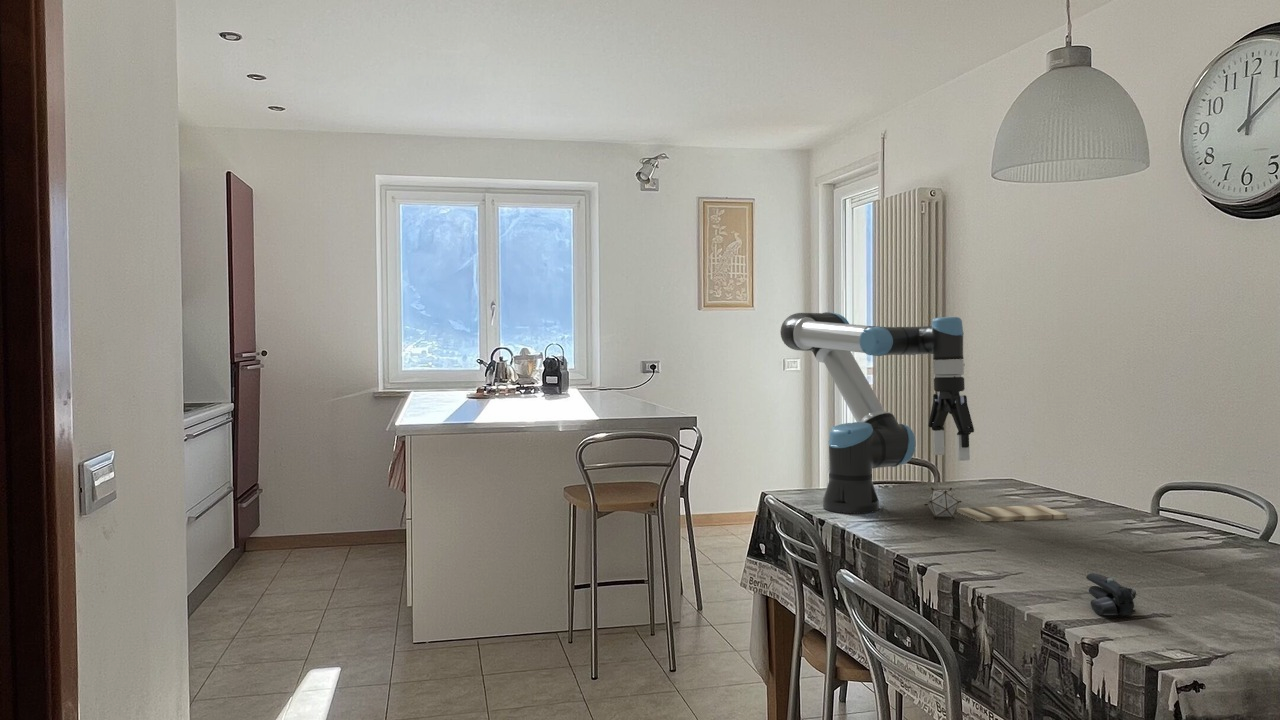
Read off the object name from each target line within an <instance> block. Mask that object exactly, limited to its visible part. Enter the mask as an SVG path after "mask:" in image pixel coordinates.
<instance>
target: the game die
mask: <svg viewBox="0 0 1280 720" xmlns="http://www.w3.org/2000/svg"><path fill="white" fill-rule="evenodd" d="M952 488H953V487H949V489H934V487H933V486H932V487H930V489H931V490H932V491H931V493H930V496H929V497H928V498H929V499H928V501H927V503H924V504H923V505H924V506H928V508H929V510H930V511H931V512H932V514H933V520H935V519H937V518H952V520H954V519H955V516H954V514H955V512H956V511H957V508H958V505H959V504H960V503H963V501H962V500H958V499H957V497H956V496H955V495H954V493H953V492H952ZM955 520H956V519H955Z"/></svg>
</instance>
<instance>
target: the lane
mask: <svg viewBox="0 0 1280 720" xmlns="http://www.w3.org/2000/svg"><path fill="white" fill-rule="evenodd" d="M957 512H958V513H957ZM956 513H957V514H959V513H961V514H960V515H962V514H963V515H962V516H964V515H966V516H968V517H967V518H969V517H970V518H969V519H971V518H973V519H975V520H974V521H976V520H977V522H978V521H998V522H1015V521H1014V520H1024V521H1039V520H1038V519H1051V520H1068V513H1064V512H1061V511H1059V510H1056V509H1053V508H1050V507H1047V506H1044V505H1040V504H1035V505H1012V506H1011V505H1010V506H1009V505H1008V506H984V507H983V506H982V507H981V506H980V507H979V506H978V507H957V508H956ZM966 516H965V517H966ZM973 519H972V520H973Z"/></svg>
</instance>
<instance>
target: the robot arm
mask: <svg viewBox="0 0 1280 720" xmlns="http://www.w3.org/2000/svg"><path fill="white" fill-rule="evenodd" d="M964 333H965V332H964V328H963V320H962V319H961V317H957V316H946V317H941V316H940V317H934V318H932V321H931V325H929V326H928V325H927V326H923V325H922V326H879V325H878V326H877V325H865V324H864V325H863V324H851V323H850V322H849V321H848V319H847V318H846V317H844V316H843V315H842V314H839V313H837V312H836V313H835V312H834V313H833V312H831V311H829V312H827V311H826V312H796V313H793V314H790V315H789V316H787V317H786V318H785V320H783V322H782V324H781V327H780V338H781V340H782V342H783V344H784V345H785V346H786V347H788V348H789V349H791V350H794V351H802V352H803V351H806V352H807V351H808V352H809V351H811V352H812V353H813V356H814V358H815V359H816V361H818V362H819V363H823V364H824V365H825V368H826V370H828V373H829V374H830V376H831V378H832V380H833V382H834V383H835V385H836V387H837V389H838V391H839V392H840V394H841V396H842V398H843V400H844V401H845V403H846V405H847V407H848V409H849V410H850V412H851V414H852V416H853V418H854V420H855V422H847V423H840V424H838V425H835V426H833V427H832V428H830V430H829V437H828V438H829V439H828V456H829V457H828V459H829V461H828V463H829V464H828V465H829V468H828V471H829V472H828V473H829V475H828V476H829V477H828V483H827V486H826V488H825V491H824V495H823V498H822V499H823V500H822V507H823V509H824V510H827V511H830V512H834V513H840V512H841V513H842V512H843V513H842V514H869V513H875V512H877V511H879V510H880V502H879V497H878V494H877V492H876V488H875V486H874V483H873V469H878V468H879V469H881V468H888V467H889V468H890V467H892V468H895V467H898V466H902V465H905V464H907V463H908V462H909V461H910V460H912V458H913V456H914V454H915V449H916V445H917V443H916V437H915V433H914V432H913V430H912V428H911V427H909V426H908V425H905V424H903V423H898V421H897V419H896V417H895V416H894V414H893V413H892V412H891V411H890V412H888V411H886V410H885V409H884V407H883V406H882V404H881V402H880V400H879V398H878V396H877V395H876V393H875V392H874V390H873V388H872V386H871V384H870V382H869V381H868V379H867V378H866V376H865V374H864V373H863V370H862V369H861V367H860V365H859V363H858V361H857V360H856V359H855V357H854V355H853V353H861V354H863V353H864V354H866V355H868V356H874V357H881V356H903V355H906V356H917V355H932V369H933V375H934V376H935V377H934V378H933V390H934V391H935V392H936V393H933V395H932V397H933V398H932V405H931V406H932V407H931V411H930V416H929V420H928V427H929V428H931V430H932V435H933V437H932V438H933V439H932V440H933V442H932V443H933V456H941V455H942V456H945V454H946V452H945V427H944V425H945V423H946V420H947V417H948V415H949V414H950V415H951V417H952V419H953V422H954V423H955V427H956V428H957V433H956V436H957V461H959V462H961V461H970V456H971V455H970V435H971V433H975V427H974V425H973V420H972V417H971V414H970V409H969V405H968V400H967V399H968V398H967V397H968V396H967V395H964V394H962V395H960V392H963V391H964V390H965V377H964V373H965V365H966V364H965V362H964ZM852 352H853V353H852ZM962 375H963V376H962ZM937 392H938V393H937Z"/></svg>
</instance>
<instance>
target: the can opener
mask: <svg viewBox="0 0 1280 720" xmlns="http://www.w3.org/2000/svg"><path fill="white" fill-rule="evenodd" d="M1085 578H1086V580H1087V581H1090V582H1092V583H1093V584H1095V585H1092V586H1090V587H1089V588H1088V592H1089V593H1090V594H1091V595H1092V596H1093V597H1095V599H1092V600H1091V601H1090V606H1091V608H1092V611H1093V612H1094V613H1095V614H1097V615H1099V616H1121V617H1123V616H1124V617H1125V616H1129V615H1132V614H1134V613H1136V611H1137V610H1136V609H1134V608H1135V602H1134V599H1136V595H1137V589H1135V588H1132V587H1130V588H1129V587H1126V586H1123V585H1122V584H1120V583H1118V582H1117V581H1115V579H1114V578H1112V577H1108V576H1106V575H1102V574H1100V573H1093V572H1091V573H1088V574H1087V575H1086V577H1085Z"/></svg>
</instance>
